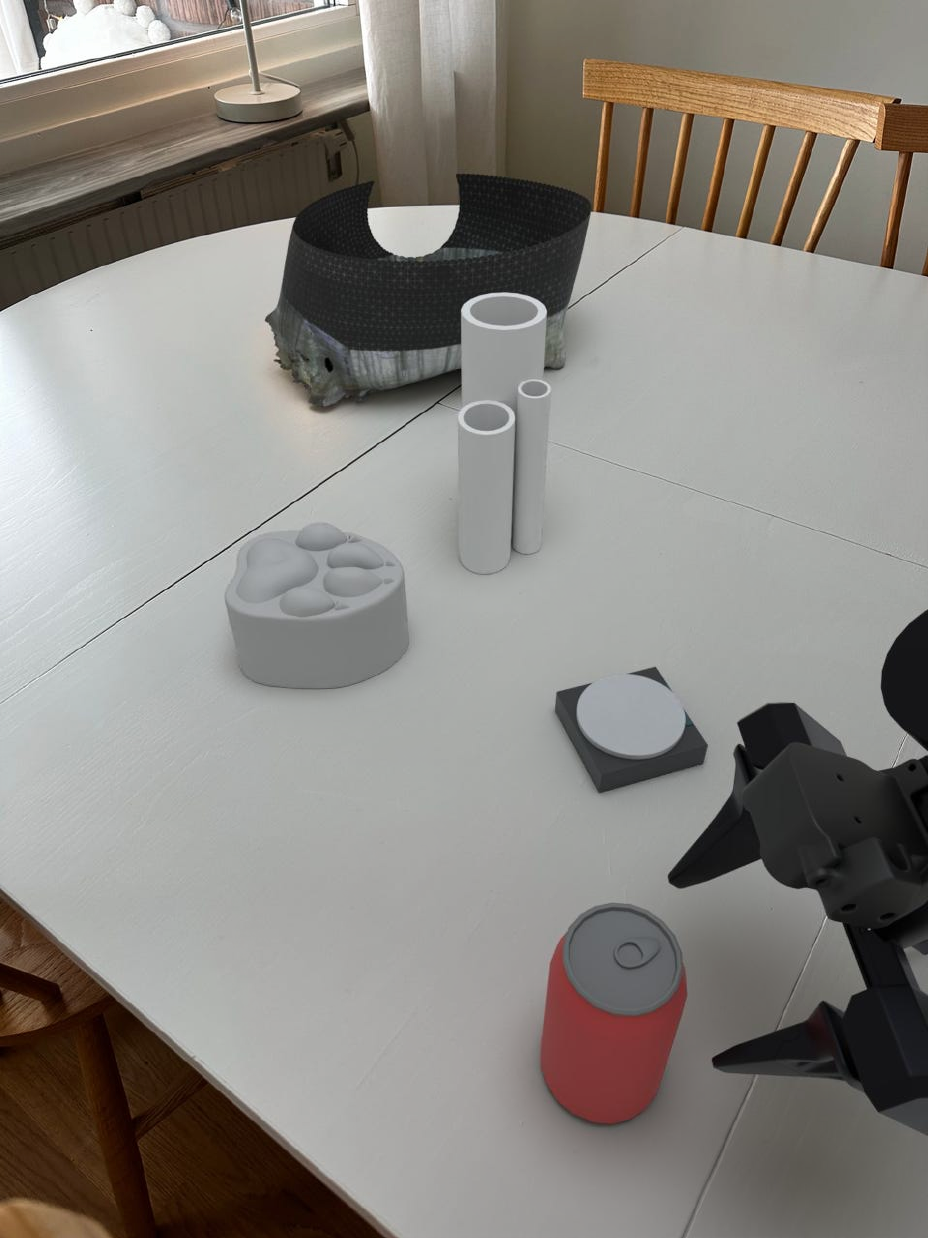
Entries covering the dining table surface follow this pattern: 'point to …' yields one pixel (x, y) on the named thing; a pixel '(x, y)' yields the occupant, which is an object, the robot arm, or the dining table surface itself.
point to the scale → (629, 728)
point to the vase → (502, 429)
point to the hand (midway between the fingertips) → (693, 968)
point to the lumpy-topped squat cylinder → (316, 608)
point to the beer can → (611, 1012)
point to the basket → (418, 284)
